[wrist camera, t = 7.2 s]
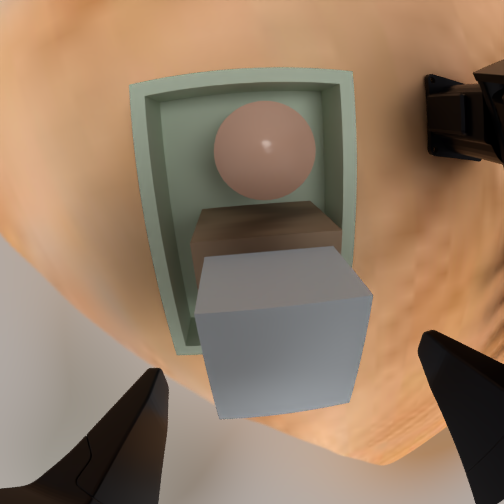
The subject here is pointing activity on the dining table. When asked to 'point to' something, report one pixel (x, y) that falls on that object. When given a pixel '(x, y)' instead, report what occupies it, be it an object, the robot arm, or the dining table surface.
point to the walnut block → (261, 230)
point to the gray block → (281, 330)
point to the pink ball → (264, 150)
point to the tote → (208, 177)
